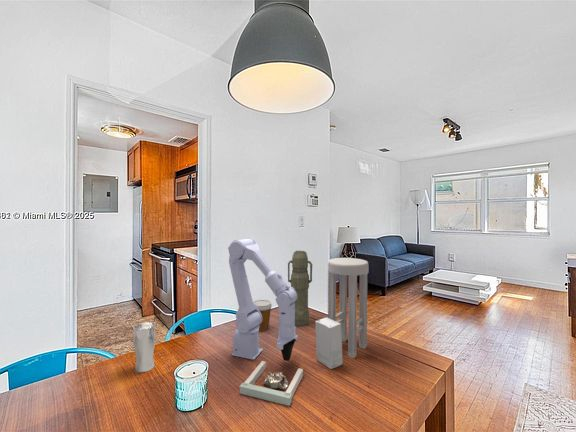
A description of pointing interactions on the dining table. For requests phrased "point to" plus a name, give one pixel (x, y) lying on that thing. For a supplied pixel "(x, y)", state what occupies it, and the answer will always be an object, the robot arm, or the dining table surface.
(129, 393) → the dining table surface
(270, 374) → the ornament
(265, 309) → the disposable coffee cup
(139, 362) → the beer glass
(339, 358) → the skincare box
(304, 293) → the thermos
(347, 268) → the stool
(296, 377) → the u-shaped frame
